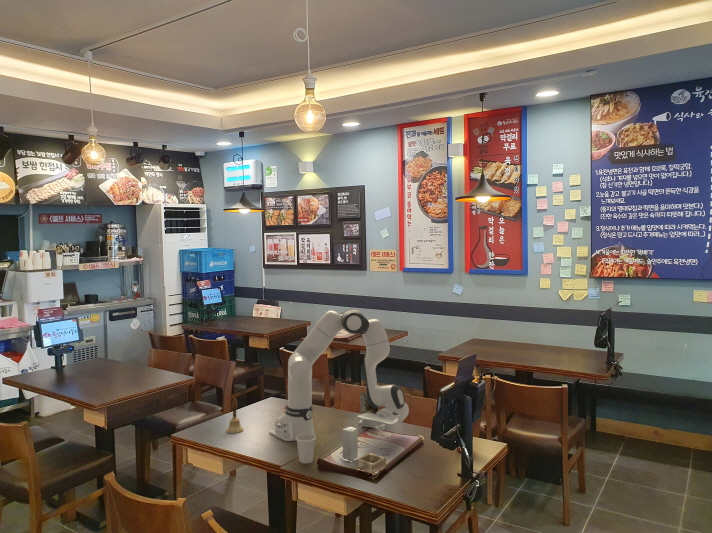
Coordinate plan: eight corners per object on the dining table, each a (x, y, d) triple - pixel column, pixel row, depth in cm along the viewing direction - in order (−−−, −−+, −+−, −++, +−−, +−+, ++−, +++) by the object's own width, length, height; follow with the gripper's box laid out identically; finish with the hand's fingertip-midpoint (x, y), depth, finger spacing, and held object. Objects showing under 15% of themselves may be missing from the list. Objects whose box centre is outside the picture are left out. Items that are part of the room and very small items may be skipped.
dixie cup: (297, 456, 223) (297, 433, 222) (317, 456, 223) (317, 433, 222) (294, 464, 214) (294, 440, 214) (314, 464, 214) (314, 440, 214)
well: (356, 470, 209) (356, 459, 209) (368, 463, 216) (368, 452, 215) (373, 476, 204) (374, 464, 204) (385, 468, 211) (386, 457, 210)
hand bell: (222, 430, 255) (222, 397, 254) (238, 426, 260) (238, 394, 260) (231, 434, 248) (231, 401, 248) (246, 430, 254) (246, 398, 253)
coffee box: (379, 423, 265) (379, 391, 265) (378, 427, 259) (378, 395, 258) (361, 422, 266) (361, 391, 266) (360, 427, 260) (360, 394, 259)
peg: (342, 459, 219) (342, 429, 219) (349, 456, 223) (349, 426, 222) (351, 462, 217) (351, 431, 216) (357, 459, 220) (357, 428, 220)
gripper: (366, 407, 246) (348, 415, 235) (403, 415, 234) (387, 424, 223) (366, 421, 247) (349, 429, 236) (404, 429, 234) (387, 438, 223)
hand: (367, 426), depth 229 cm, fingers open, 8 cm apart
